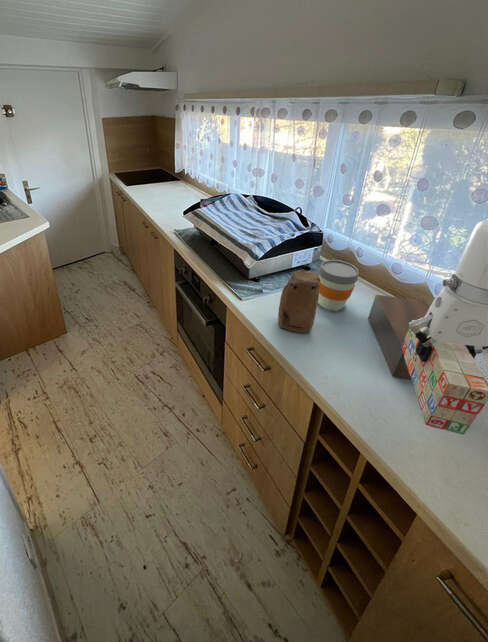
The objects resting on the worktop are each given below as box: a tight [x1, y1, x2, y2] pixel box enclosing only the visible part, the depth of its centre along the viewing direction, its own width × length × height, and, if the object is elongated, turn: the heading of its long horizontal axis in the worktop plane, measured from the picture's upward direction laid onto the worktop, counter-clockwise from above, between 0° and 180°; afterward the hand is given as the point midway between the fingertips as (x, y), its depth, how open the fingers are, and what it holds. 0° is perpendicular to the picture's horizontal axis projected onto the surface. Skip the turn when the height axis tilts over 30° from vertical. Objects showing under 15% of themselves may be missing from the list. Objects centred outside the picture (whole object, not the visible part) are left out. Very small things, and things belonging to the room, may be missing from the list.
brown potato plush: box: [277, 269, 320, 334], centre depth 97 cm, size 11×8×20 cm
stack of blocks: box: [402, 320, 488, 436], centre depth 64 cm, size 21×6×12 cm, turn 160°
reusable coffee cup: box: [318, 259, 359, 312], centre depth 109 cm, size 13×13×15 cm
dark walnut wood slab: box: [367, 294, 430, 381], centre depth 90 cm, size 14×25×10 cm, turn 167°
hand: (441, 359), depth 63 cm, fingers closed on stack of blocks, 6 cm apart
